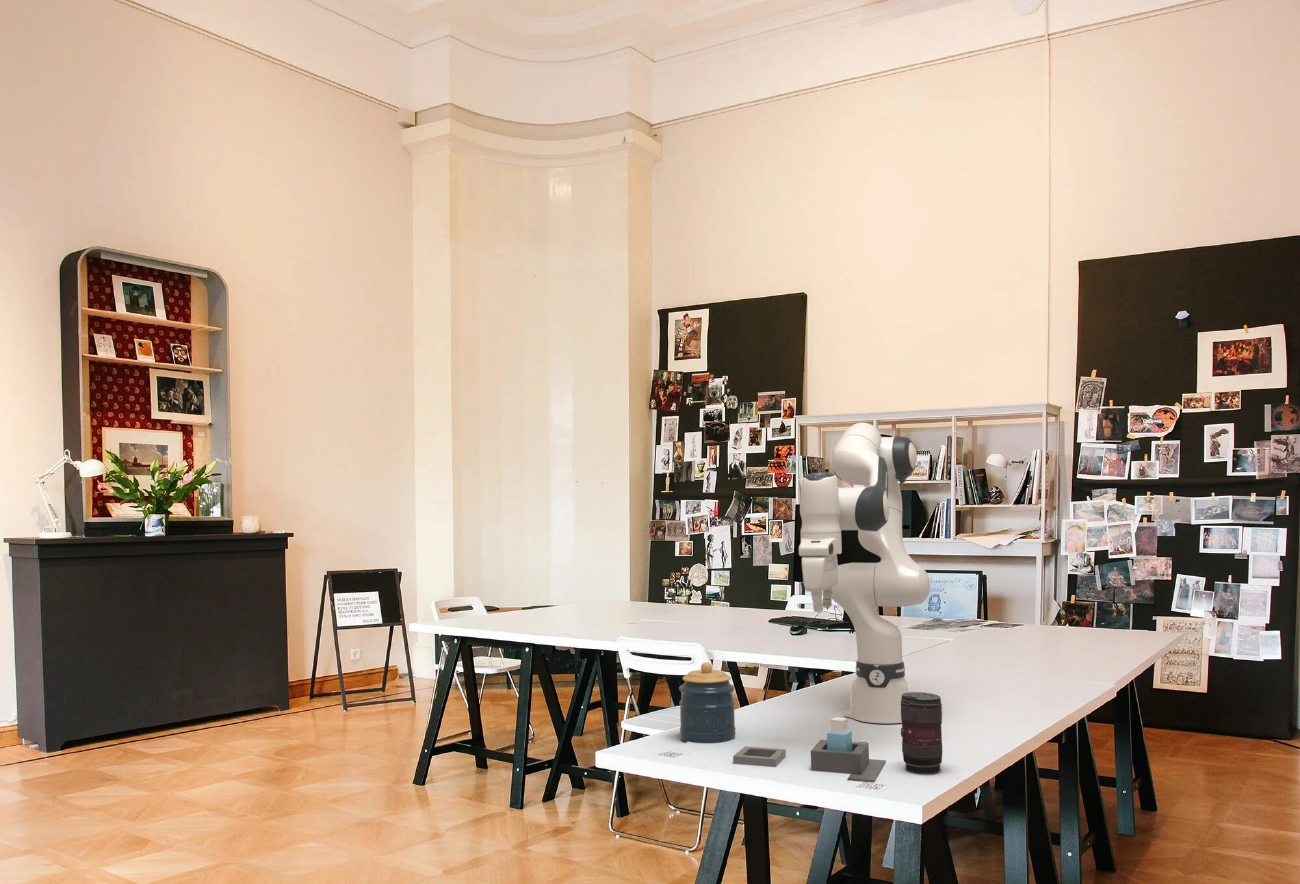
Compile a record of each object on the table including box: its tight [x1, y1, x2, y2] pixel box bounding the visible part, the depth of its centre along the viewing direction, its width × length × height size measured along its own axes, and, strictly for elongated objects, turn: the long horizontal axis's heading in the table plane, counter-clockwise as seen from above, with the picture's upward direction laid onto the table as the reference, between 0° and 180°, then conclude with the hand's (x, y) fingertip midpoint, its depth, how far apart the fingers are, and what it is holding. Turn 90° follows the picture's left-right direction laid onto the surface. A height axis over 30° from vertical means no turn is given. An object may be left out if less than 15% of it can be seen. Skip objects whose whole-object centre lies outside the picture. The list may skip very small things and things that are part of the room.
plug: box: [826, 716, 853, 752], centre depth 205 cm, size 4×4×10 cm
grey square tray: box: [732, 745, 787, 768], centre depth 210 cm, size 9×9×2 cm
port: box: [810, 739, 887, 783], centre depth 204 cm, size 16×16×5 cm
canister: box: [678, 662, 736, 744], centre depth 233 cm, size 13×13×18 cm
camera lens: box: [900, 691, 943, 775], centre depth 203 cm, size 8×8×15 cm
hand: (822, 609), depth 218 cm, fingers open, 8 cm apart
